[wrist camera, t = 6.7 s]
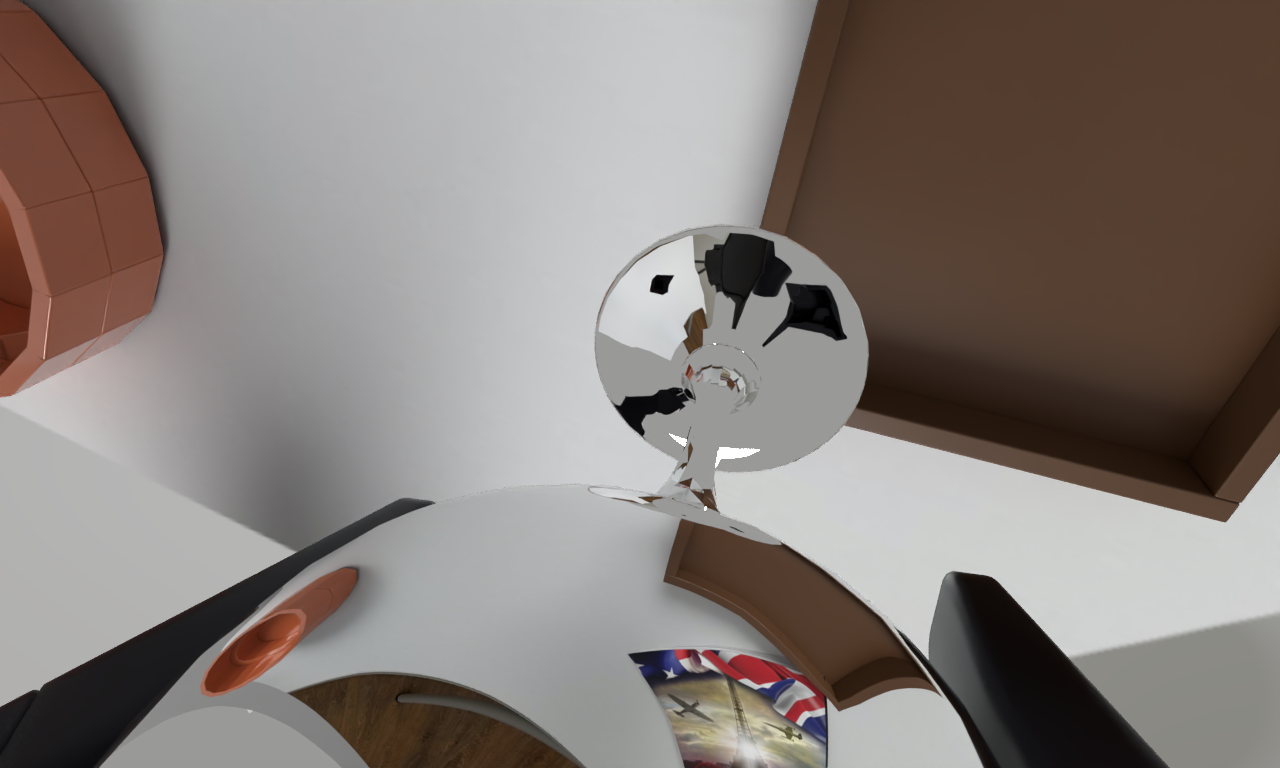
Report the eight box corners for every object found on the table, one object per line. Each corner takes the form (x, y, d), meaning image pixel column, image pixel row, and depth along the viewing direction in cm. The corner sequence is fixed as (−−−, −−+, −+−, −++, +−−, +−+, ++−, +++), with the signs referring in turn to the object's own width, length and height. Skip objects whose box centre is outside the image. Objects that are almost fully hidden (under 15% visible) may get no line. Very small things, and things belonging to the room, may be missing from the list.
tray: (1186, 471, 18) (1226, 523, 16) (727, 357, 20) (717, 393, 18) (1629, -159, 12) (1777, -188, 10) (885, -264, 13) (895, -307, 11)
